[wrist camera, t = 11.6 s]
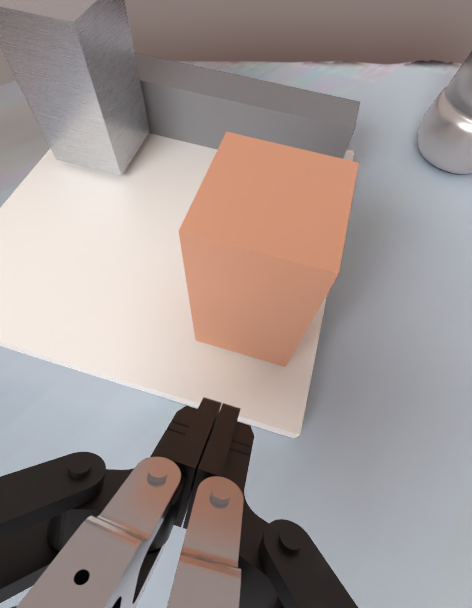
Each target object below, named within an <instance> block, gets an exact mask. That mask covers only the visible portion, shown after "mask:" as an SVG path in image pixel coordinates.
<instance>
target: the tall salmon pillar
mask: <svg viewBox="0 0 472 608" xmlns="http://www.w3.org/2000/svg"><path fill="white" fill-rule="evenodd" d="M358 165H359V162H354V161H350V160H346V159H342V158H337V157H333V156H329V155H324V154H320V153H316V152H312V151H307V150H303V149H299V148H295V147H290V146H286V145H282V144H278V143H273V142H269V141H265V140H260V139H256V138H252V137H248V136H243V135H239V134H235V133H231V132H226V133H225V136H224V138H223V140H222V142H221V144H220V146H219V148H218V150H217V152H216V154H215V156H214V158H213V160H212V163H211V165H210V167H209V169H208V171H207V173H206V175H205V177H204V179H203V181H202V183H201V185H200V187H199V190H198V192H197V194H196V196H195V198H194V200H193V202H192V204H191V206H190V208H189V210H188V212H187V214H186V217H185V219H184V221H183V223H182V225H181V227H180V229H179V237H180V244H181V250H182V257H183V263H184V270H185V276H186V283H187V289H188V296H189V302H190V309H191V315H192V322H193V328H194V335H195V340H196V341H199V342H203V343H206V344H209V345H213V346H216V347H220V348H223V349H226V350H230V351H233V352H237V353H240V354H243V355H247V356H250V357H253V358H257V359H260V360H264V361H267V362H270V363H274V364H277V365H281V366H284V367H286V365H287V364H288V362H289V360H290V358H291V357H292V355H293V353H294V351H295V350H296V348H297V346H298V344H299V343H300V341H301V339H302V337H303V336H304V334H305V332H306V331H307V329H308V327H309V325H310V324H311V322H312V320H313V318H314V317H315V315H316V313H317V311H318V310H319V308H320V306H321V304H322V303H323V301H324V299H325V297H326V296H327V294H328V292H329V290H330V289H331V287H332V285H333V283H334V282H335V280H336V278H337V276H338V275H339V271H340V265H341V260H342V254H343V249H344V243H345V237H346V232H347V226H348V221H349V215H350V210H351V204H352V198H353V193H354V187H355V182H356V176H357V170H358Z"/></svg>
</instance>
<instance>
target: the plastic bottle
mask: <svg viewBox="0 0 472 608" xmlns="http://www.w3.org/2000/svg"><path fill="white" fill-rule="evenodd" d="M418 145H419V150H420V152H421V154H422V155H423V156H424V158H425V159H426V160H427V161H429V162H430V163H431V164H433V165H434V166H436V167H438V168H440V169H442V170H444V171H448V172H451V173H456V174H469V173H472V51H471V53H470V54H469V56H468V57H467V59H466V60H465V62H464V63H463V64H462V66H461V67H460V69H459V70H458V72H457V73H456V75H455V76H454V78H453V79H452V80H451V82H450V83H449V85H448V86H447V87H446V88H445V89H444V90H443V91H442V92H441V93H440V95H439V96H438V97H437V98H436V100H435V101H434V102H433V104H432V105H431V107H430V108H429V109H428V111H427V112H426V114H425V115H424V118H423V120H422V123H421V126H420V128H419V131H418Z"/></svg>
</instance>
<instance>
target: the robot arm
mask: <svg viewBox="0 0 472 608" xmlns="http://www.w3.org/2000/svg"><path fill="white" fill-rule="evenodd" d="M220 408H221V409H220ZM240 409H241V408H238V407H234V406H231V405H228V404H225V403H223V404H222V407H221V402H218V401H215V400H212V399H208V398H205V397H203V399H202V401H201V403H200V405H199V407H198V409H195V408H192V407H189V406H185V407H184V408H182V409H181V410H179V411H177V413H176V414H175V416H174V418H173V419H172V421H171V423H170V424H169V426H168V428H167V430H166V431H165V433H164V435H163V436H162V438H161V440H160V441H159V443H158V445H157V446H156V448H155V450H154V452H153V453H152V455H151V457H150V458H147V459H144V460H142V461H141V462H140V463H139V464H138V465H137V466H136V467H135V468H134V469H130V470H108V469H106V466H105V463H104V461H103V459H102V458H101V457H99V456H98V455H96V454H93V453H90V452H77V453H72V454H69V455H66V456H63V457H60V458H57V459H54V460H51V461H48V462H44V463H41V464H38V465H35V466H32V467H29V468H26V469H23V470H20V471H17V472H14V473H11V474H8V475H4V476H1V477H0V603H1V602H3V601H5V600H7V599H9V598H11V597H12V596H14V595H16V594H18V593H20V592H22V591H24V590H25V589H27V588H29V587H31V586H33V587H32V588H31V589H30V590H29V592H28V593H27V594H26V596H25V597H24V598H23V599H22V601H21V602H20V603H19V605H18V606H15V607H12V608H136V606H137V604H138V602H139V600H140V598H141V596H142V594H143V592H144V590H145V587H146V585H147V583H148V581H149V579H150V577H151V575H152V573H153V571H154V569H155V567H156V565H157V562H158V560H159V558H160V556H161V554H162V552H163V550H164V547H165V543H166V541H167V540H168V538H169V535H170V533H171V530H172V528H173V525H176V526H179V527H181V525H182V522H183V520H184V517H185V514H186V517H185V521H184V525H183V528H185V529H187V531H186V535H185V539H184V543H183V547H182V550H181V554H180V558H179V562H178V566H177V570H176V574H175V578H174V582H173V586H172V589H171V593H170V597H169V601H168V605H167V608H358V607H357V605H356V604H355V602H354V601H353V600H352V598H351V597H350V595H349V594H348V592H347V591H346V589H345V588H344V586H343V585H342V583H341V582H340V581H339V579H338V578H337V576H336V575H335V573H334V572H333V570H332V569H331V567H330V566H329V564H328V563H327V562H326V560H325V559H324V557H323V556H322V554H321V553H320V551H319V550H318V548H317V547H316V545H315V544H314V543H313V541H312V540H311V538H310V537H309V535H308V534H307V533H306V532H305V531H304V530H303V529H302V528H301V527H300V526H299V525H297V524H295V523H293V522H291V521H288V520H283V519H281V520H275V521H272V522H271V523H267V522H266V521H264V520H263V519H261V518H260V517H259V516H257V515H256V514H255V513H254V512H253V511H252V510H251V509H250V507H249V506H248V504H247V502H246V500H245V496H244V487H245V482H246V477H247V471H248V466H249V461H250V455H251V450H252V445H253V439H254V435H253V432H252V429H251V426H249V425H246V424H243V423H240V422H237V420H238V416H239V413H240ZM187 509H188V510H187ZM186 511H187V513H186Z"/></svg>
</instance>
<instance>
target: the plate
mask: <svg viewBox="0 0 472 608" xmlns="http://www.w3.org/2000/svg"><path fill="white" fill-rule="evenodd" d="M135 58H136V63H137V68H138V73H139V78H140V84H141V89H142V94H143V99H144V104H145V110H146V115H147V120H148V125H149V130H150V133H149V134H148V136H147V137H146V139H145V140H144V142H143V143H142V145H141V146H140V148H139V150H138V151H137V153H136V154H135V156H134V157H133V159H132V160H131V162H130V163H129V165H128V166H127V168H126V170H125V171H124V173H123V174H122V176H120V175H116V174H112V173H108V172H104V171H100V170H96V169H92V168H88V167H84V166H80V165H76V164H72V163H68V162H65V161H61V160H57V159H56V158H55V156H54V154H53V152H52V150H51V148H50V149H49V150H48V152H47V153H46V154H45V155H44V156H43V158H42V159H41V160H40V161H39V162H38V163H37V165H36V166H35V167H34V168H33V169H32V171H31V172H30V173H29V174H28V175H27V177H26V178H25V179H24V180H23V181H22V183H21V184H20V185H19V186H18V187H17V189H16V190H15V191H14V192H13V193H12V195H11V196H10V197H9V198H8V199H7V201H6V202H5V203H4V204H3V205H2V207H1V208H0V346H1V347H4V348H7V349H10V350H14V351H17V352H20V353H23V354H26V355H30V356H33V357H36V358H39V359H42V360H45V361H49V362H52V363H55V364H58V365H61V366H65V367H68V368H71V369H74V370H77V371H80V372H84V373H87V374H90V375H93V376H96V377H100V378H103V379H106V380H109V381H112V382H115V383H119V384H122V385H125V386H128V387H131V388H135V389H138V390H141V391H144V392H147V393H150V394H154V395H157V396H160V397H163V398H166V399H170V400H173V401H176V402H179V403H182V404H185V405H189V406H192V407H195V408H198V407H199V405H200V403H201V401H202V399H203V397H205V398H208V399H212V400H215V401H218V402H221V407H222V404H223V403H225V404H228V405H231V406H234V407H238V408H241V409H240V413H239V416H238V420H237V421H240V422H243V423H246V424H249V425H252V426H255V427H259V428H262V429H265V430H268V431H271V432H275V433H278V434H281V435H284V436H287V437H290V438H294V439H295V438H296V437H298V436H300V434H301V429H302V424H303V418H304V413H305V408H306V403H307V398H308V392H309V387H310V382H311V377H312V372H313V366H314V361H315V356H316V351H317V345H318V340H319V335H320V330H321V325H322V319H323V314H324V309H325V304H326V299H327V296H326V297H325V299H324V301H323V303H322V304H321V306H320V308H319V310H318V311H317V313H316V315H315V317H314V318H313V320H312V322H311V324H310V325H309V327H308V329H307V331H306V332H305V334H304V336H303V337H302V339H301V341H300V343H299V344H298V346H297V348H296V350H295V351H294V353H293V355H292V357H291V358H290V360H289V362H288V364H287V365H286V367H284V366H281V365H277V364H274V363H270V362H267V361H264V360H260V359H257V358H253V357H250V356H247V355H243V354H240V353H237V352H233V351H230V350H226V349H223V348H220V347H216V346H213V345H209V344H206V343H203V342H199V341H196V340H195V335H194V328H193V322H192V315H191V309H190V302H189V296H188V289H187V283H186V276H185V270H184V263H183V257H182V250H181V244H180V237H179V229H180V227H181V225H182V223H183V221H184V219H185V217H186V214H187V212H188V210H189V208H190V206H191V204H192V202H193V200H194V198H195V196H196V194H197V192H198V190H199V187H200V185H201V183H202V181H203V179H204V177H205V175H206V173H207V171H208V169H209V167H210V165H211V163H212V160H213V158H214V156H215V154H216V152H217V150H218V148H219V146H220V144H221V142H222V140H223V138H224V136H225V133H226V132H231V133H235V134H239V135H243V136H248V137H252V138H256V139H260V140H265V141H269V142H273V143H278V144H282V145H286V146H290V147H295V148H299V149H303V150H307V151H312V152H316V153H320V154H324V155H329V156H333V157H337V158H342V159H346V160H350V161H353V158H354V153H355V151H353V150H348V149H347V147H348V145H349V142H350V140H351V137H352V134H353V132H354V129H355V125H356V120H357V115H358V110H359V105H360V102H358V101H354V100H349V99H345V98H340V97H335V96H331V95H326V94H322V93H317V92H312V91H308V90H303V89H299V88H294V87H289V86H285V85H280V84H276V83H271V82H267V81H262V80H257V79H253V78H248V77H244V76H239V75H234V74H230V73H225V72H221V71H216V70H211V69H207V68H202V67H198V66H193V65H188V64H184V63H179V62H175V61H170V60H166V59H161V58H156V57H152V56H147V55H143V54H137V53H135ZM220 409H221V408H220Z"/></svg>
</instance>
